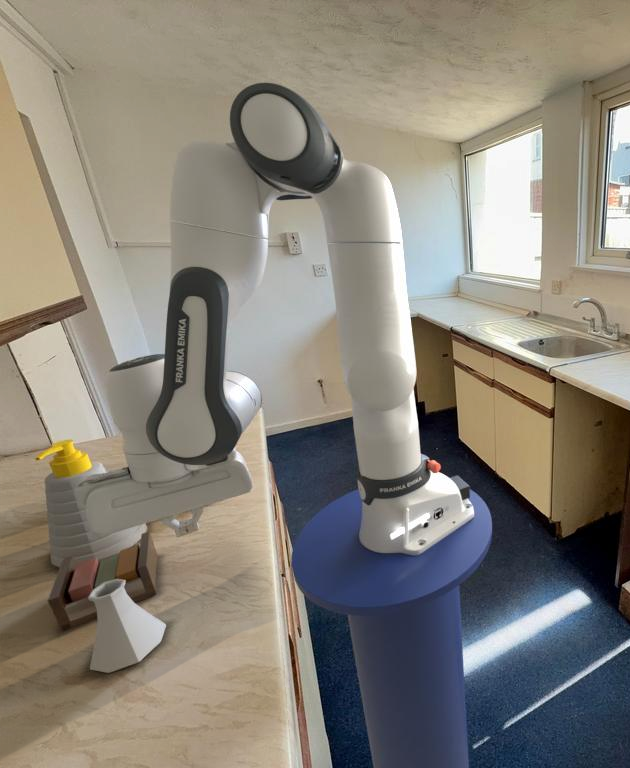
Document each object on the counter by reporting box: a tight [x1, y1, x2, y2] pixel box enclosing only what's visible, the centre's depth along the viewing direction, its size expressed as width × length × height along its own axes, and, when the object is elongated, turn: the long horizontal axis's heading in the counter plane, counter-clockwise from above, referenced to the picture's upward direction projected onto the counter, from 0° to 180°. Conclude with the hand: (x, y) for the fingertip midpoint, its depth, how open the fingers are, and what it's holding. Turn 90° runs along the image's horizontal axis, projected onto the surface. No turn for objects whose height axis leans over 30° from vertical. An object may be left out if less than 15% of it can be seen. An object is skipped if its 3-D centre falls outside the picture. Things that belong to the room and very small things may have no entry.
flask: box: [88, 579, 167, 674], centre depth 51 cm, size 7×7×10 cm
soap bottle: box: [34, 438, 148, 569], centre depth 68 cm, size 12×12×20 cm
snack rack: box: [47, 531, 159, 632], centre depth 61 cm, size 10×10×6 cm
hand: (188, 532), depth 66 cm, fingers closed
